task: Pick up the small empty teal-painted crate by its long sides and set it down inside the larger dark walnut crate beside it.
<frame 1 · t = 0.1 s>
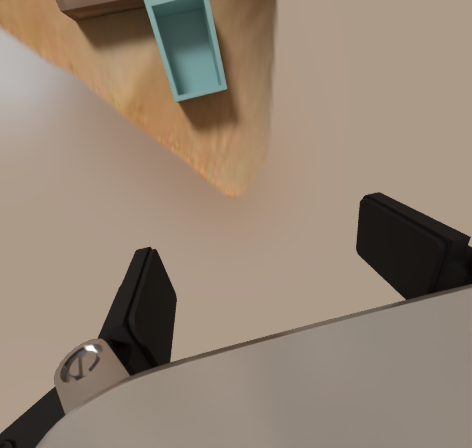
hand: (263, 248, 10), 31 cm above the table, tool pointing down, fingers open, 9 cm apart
teal crate: (190, 55, 32), on the table
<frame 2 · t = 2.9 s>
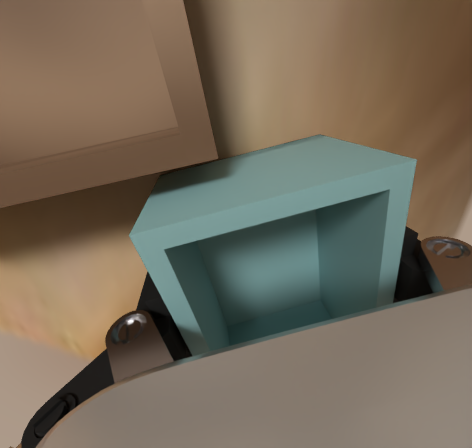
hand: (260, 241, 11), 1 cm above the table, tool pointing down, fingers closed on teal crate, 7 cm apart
teal crate: (259, 248, 12), on the table, touching gripper
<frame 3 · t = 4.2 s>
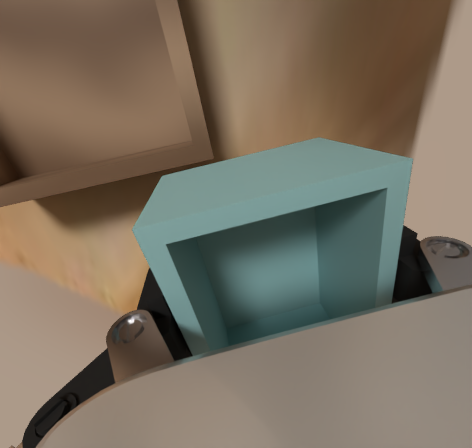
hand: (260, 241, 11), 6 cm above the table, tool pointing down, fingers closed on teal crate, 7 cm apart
walnut crate: (54, 18, 11), on the table
teal crate: (259, 250, 12), point 5 cm above the table, touching gripper
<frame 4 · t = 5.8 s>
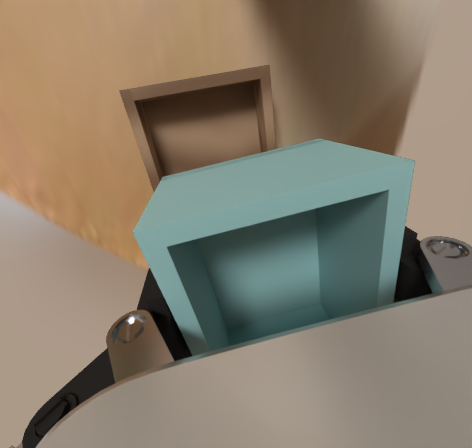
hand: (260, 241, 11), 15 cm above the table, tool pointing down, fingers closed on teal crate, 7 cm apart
walnut crate: (212, 163, 24), on the table
teal crate: (260, 251, 12), point 14 cm above the table, touching gripper
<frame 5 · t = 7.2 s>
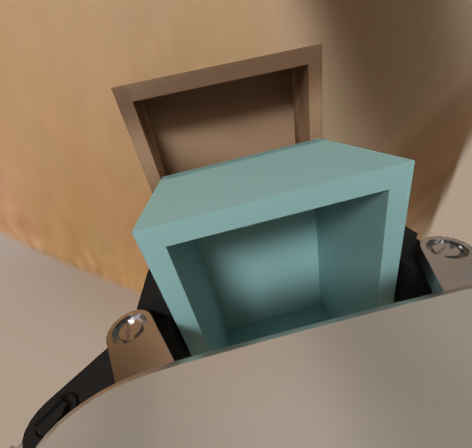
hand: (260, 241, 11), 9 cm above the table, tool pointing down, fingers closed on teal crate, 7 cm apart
walnut crate: (234, 175, 19), on the table
teal crate: (259, 251, 12), point 9 cm above the table, touching gripper
when the fingers open (5 cm above the table, at t = 8.5 s): teal crate drops 4 cm, resting on walnut crate.
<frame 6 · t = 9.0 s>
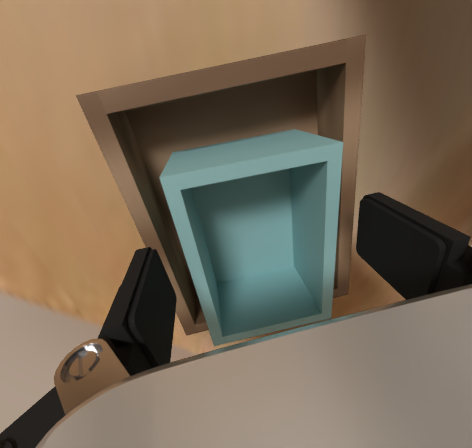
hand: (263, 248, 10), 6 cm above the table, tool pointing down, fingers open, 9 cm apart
walnut crate: (241, 200, 16), on the table
teal crate: (246, 218, 15), point 1 cm above the table, touching walnut crate
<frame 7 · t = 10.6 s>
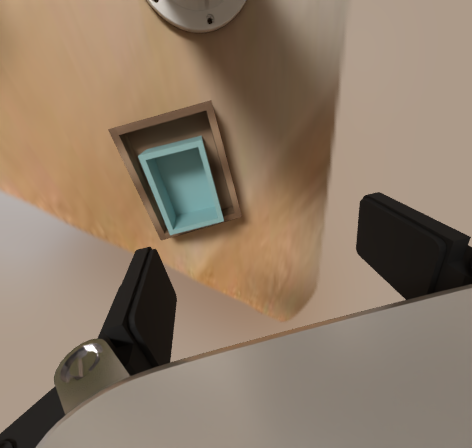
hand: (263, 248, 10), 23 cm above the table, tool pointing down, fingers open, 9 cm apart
walnut crate: (184, 171, 31), on the table
teal crate: (186, 180, 31), point 1 cm above the table, touching walnut crate
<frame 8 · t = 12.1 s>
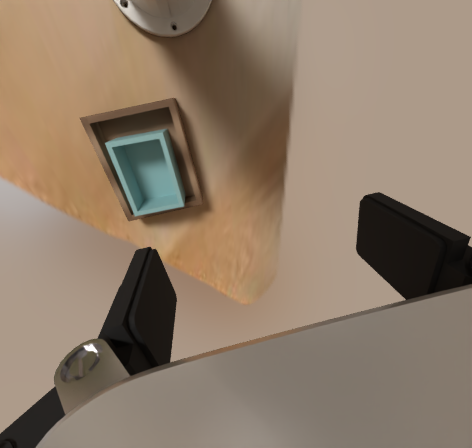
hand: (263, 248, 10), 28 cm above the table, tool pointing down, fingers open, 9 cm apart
walnut crate: (152, 160, 35), on the table
teal crate: (154, 168, 35), point 1 cm above the table, touching walnut crate
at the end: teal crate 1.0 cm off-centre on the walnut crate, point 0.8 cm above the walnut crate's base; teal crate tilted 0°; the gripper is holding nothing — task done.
